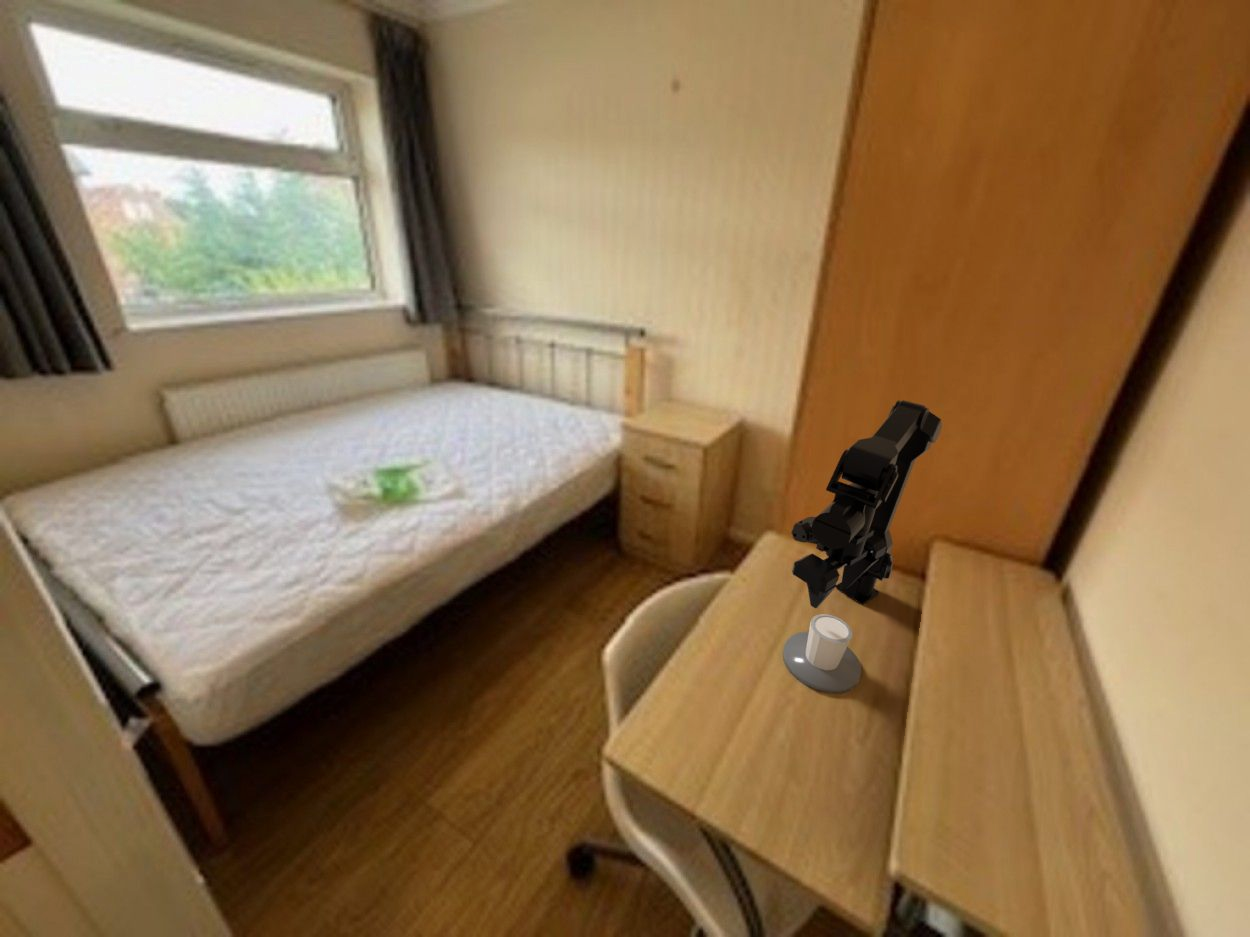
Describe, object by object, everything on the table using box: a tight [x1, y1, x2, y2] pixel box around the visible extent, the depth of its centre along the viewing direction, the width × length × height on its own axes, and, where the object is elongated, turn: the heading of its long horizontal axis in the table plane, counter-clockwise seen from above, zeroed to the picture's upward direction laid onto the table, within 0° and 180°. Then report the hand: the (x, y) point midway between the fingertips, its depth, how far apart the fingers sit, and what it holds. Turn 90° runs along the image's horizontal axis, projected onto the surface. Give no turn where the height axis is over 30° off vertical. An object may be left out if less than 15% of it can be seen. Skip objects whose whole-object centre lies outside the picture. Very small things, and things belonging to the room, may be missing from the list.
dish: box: [782, 631, 862, 695], centre depth 96 cm, size 13×13×1 cm
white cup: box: [806, 613, 853, 670], centre depth 94 cm, size 7×7×7 cm
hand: (829, 596), depth 95 cm, fingers open, 9 cm apart
